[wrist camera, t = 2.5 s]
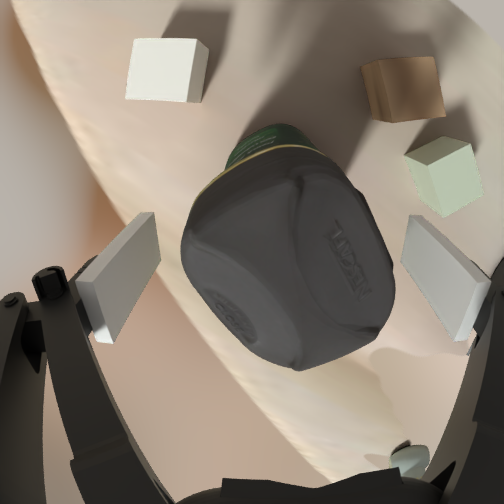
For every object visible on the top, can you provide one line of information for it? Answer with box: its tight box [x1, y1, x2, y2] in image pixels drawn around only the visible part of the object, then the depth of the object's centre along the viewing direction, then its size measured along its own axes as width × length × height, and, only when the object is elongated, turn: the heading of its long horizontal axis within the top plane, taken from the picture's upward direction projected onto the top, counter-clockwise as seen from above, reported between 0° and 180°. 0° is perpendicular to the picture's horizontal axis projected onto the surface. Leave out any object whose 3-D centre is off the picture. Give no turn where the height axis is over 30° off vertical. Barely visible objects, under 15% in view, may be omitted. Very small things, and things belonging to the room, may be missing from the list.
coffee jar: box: [181, 124, 395, 371], centre depth 19 cm, size 10×8×19 cm
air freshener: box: [389, 445, 430, 479], centre depth 46 cm, size 11×8×10 cm
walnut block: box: [360, 57, 446, 123], centre depth 21 cm, size 5×5×5 cm
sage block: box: [404, 136, 484, 218], centre depth 23 cm, size 5×5×5 cm
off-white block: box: [125, 38, 209, 103], centre depth 21 cm, size 5×5×5 cm
